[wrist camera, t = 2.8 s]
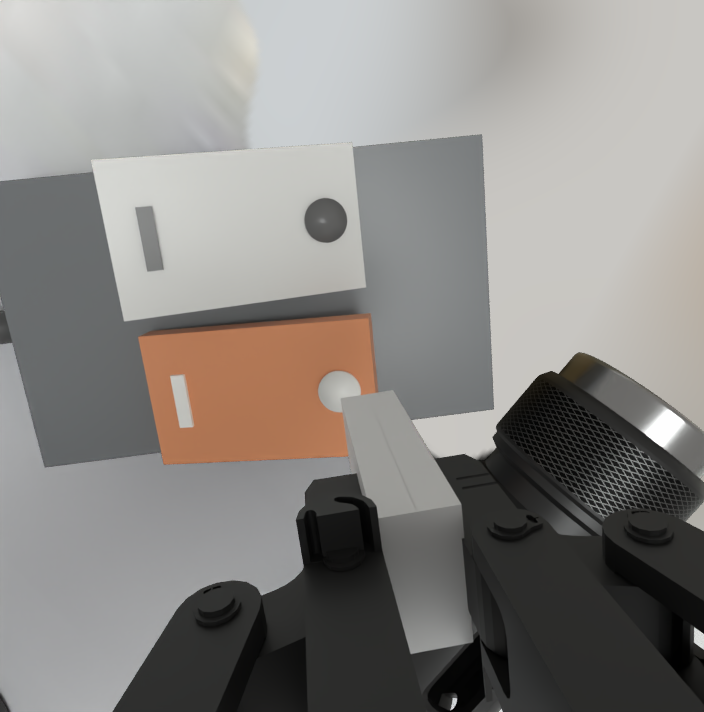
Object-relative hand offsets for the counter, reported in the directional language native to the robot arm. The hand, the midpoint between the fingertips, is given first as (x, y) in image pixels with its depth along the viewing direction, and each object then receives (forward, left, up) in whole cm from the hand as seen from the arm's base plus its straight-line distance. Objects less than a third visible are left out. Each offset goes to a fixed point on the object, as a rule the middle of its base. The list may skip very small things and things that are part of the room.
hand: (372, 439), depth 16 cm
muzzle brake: (+5, -14, -16) cm, 22 cm away
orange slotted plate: (-4, -1, -9) cm, 10 cm away
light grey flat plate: (-4, +6, -9) cm, 12 cm away
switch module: (-7, +3, -16) cm, 18 cm away
